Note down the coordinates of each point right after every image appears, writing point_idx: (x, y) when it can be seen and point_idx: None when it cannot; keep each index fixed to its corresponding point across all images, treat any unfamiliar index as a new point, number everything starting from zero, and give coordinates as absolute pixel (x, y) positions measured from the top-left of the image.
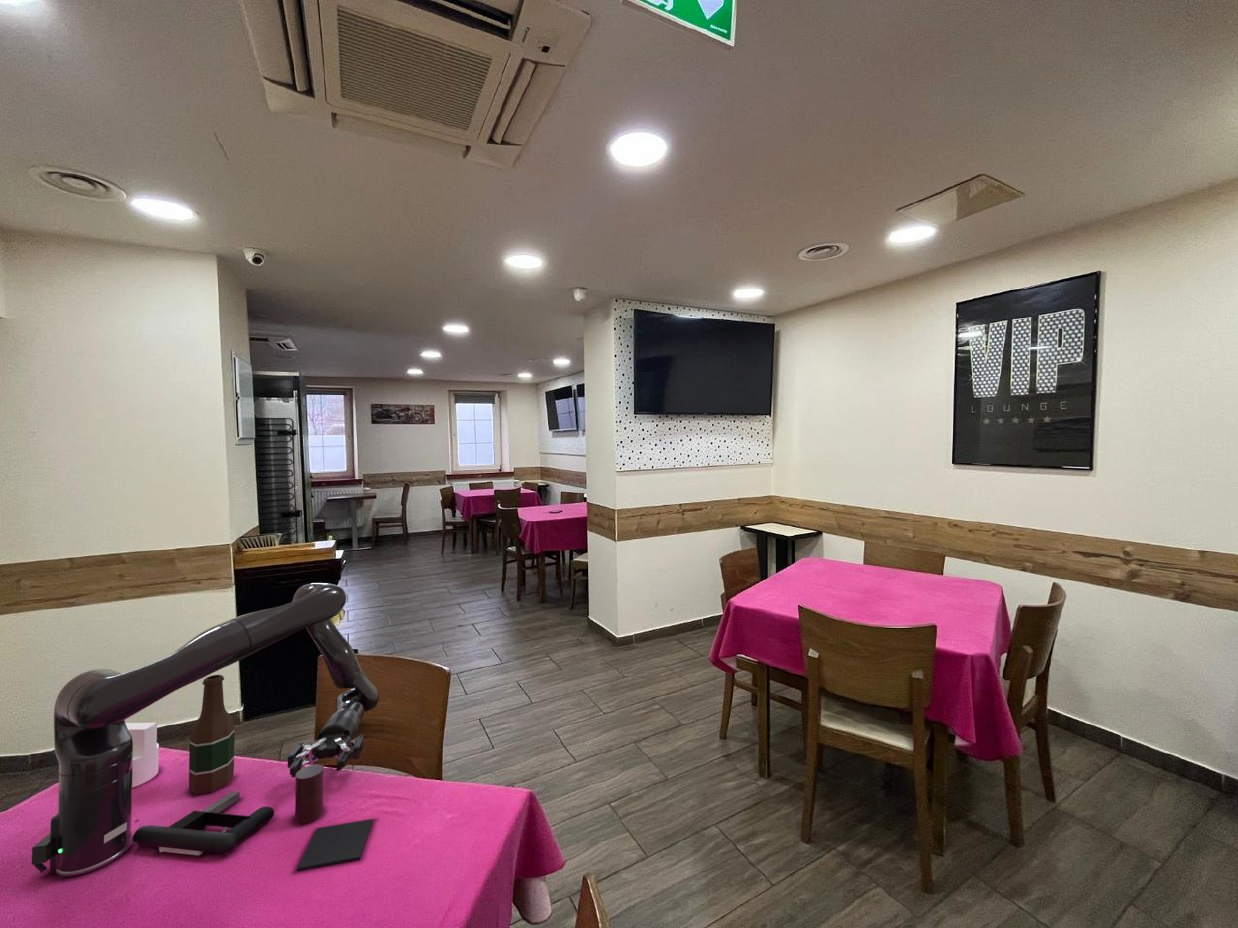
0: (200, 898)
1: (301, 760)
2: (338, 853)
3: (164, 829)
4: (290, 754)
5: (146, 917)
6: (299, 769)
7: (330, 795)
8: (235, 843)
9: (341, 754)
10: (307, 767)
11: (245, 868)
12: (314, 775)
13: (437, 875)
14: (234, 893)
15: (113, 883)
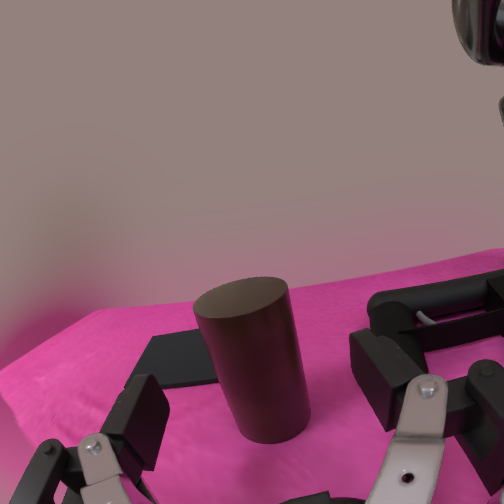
0: (340, 291)
1: (385, 393)
2: (179, 338)
3: (502, 270)
4: (491, 368)
5: (377, 274)
6: (372, 402)
7: (242, 496)
8: (367, 312)
9: (127, 415)
10: (259, 302)
11: (319, 318)
12: (214, 288)
13: (93, 327)
14: (301, 300)
15: (472, 273)
